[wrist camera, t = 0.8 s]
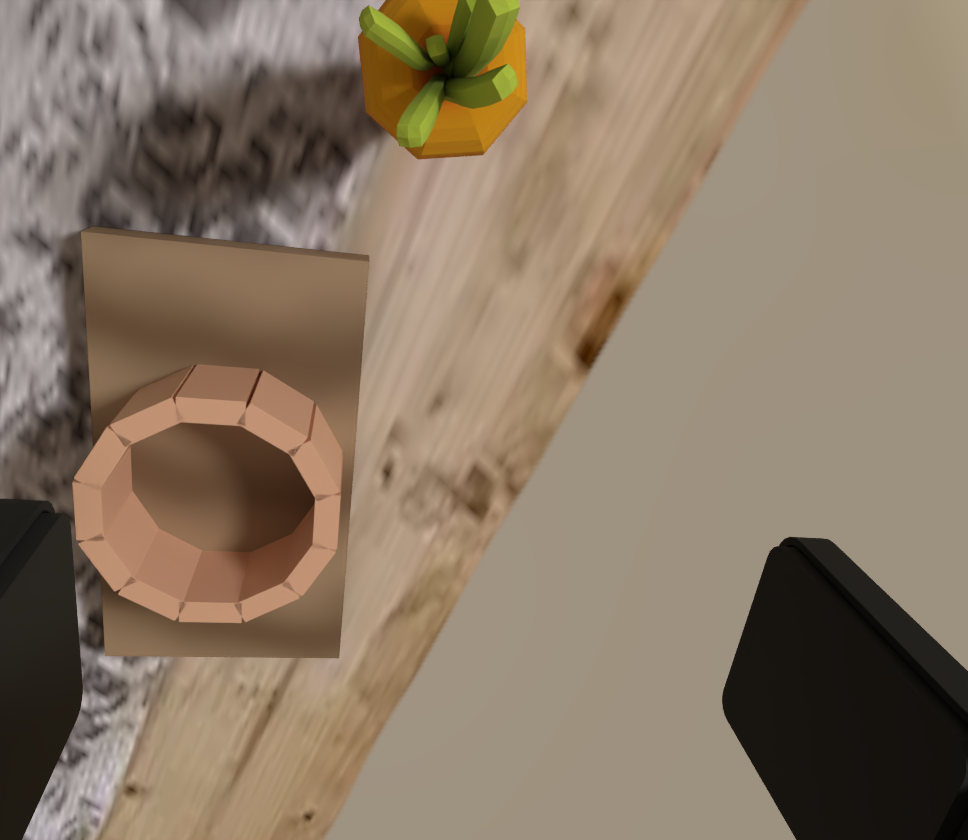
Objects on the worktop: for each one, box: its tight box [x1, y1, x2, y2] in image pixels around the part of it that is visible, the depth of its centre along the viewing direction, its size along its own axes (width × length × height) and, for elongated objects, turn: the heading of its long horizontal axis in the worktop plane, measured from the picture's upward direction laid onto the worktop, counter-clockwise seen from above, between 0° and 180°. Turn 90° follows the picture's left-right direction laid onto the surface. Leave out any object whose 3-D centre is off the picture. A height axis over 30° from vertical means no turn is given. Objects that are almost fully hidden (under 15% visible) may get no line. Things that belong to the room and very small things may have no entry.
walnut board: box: [81, 226, 369, 658], centre depth 34 cm, size 20×11×2 cm, turn 173°
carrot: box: [358, 0, 527, 159], centre depth 23 cm, size 5×5×15 cm
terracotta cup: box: [72, 364, 343, 623], centre depth 32 cm, size 10×10×4 cm
